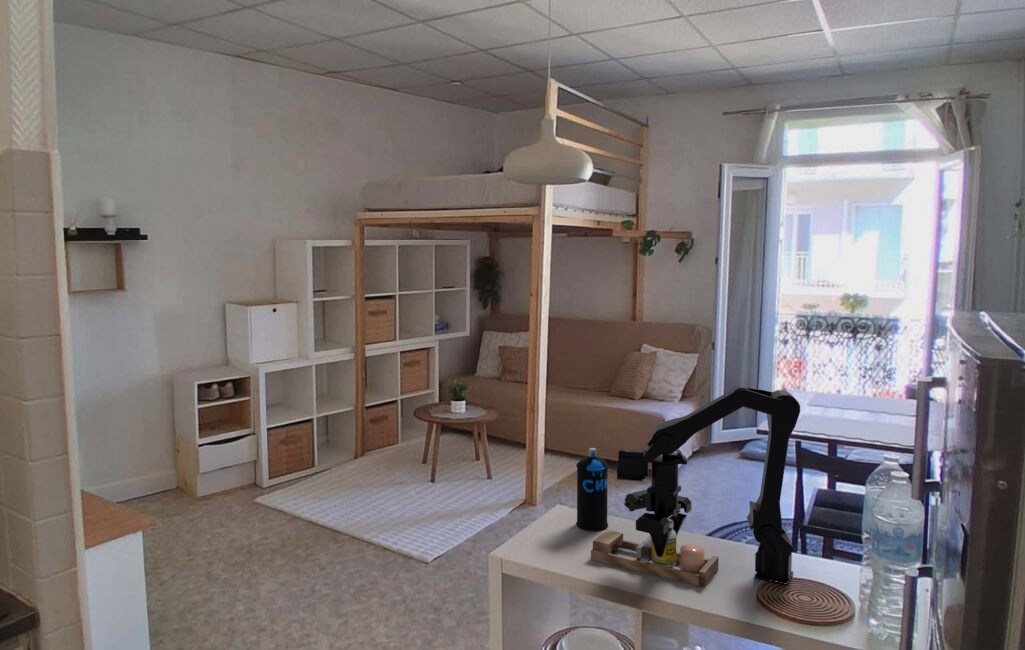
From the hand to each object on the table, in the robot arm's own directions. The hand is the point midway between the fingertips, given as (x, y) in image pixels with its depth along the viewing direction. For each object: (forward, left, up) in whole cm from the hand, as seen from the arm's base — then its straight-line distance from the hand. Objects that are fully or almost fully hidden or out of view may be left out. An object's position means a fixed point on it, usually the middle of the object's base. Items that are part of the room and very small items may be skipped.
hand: (664, 551), depth 152 cm
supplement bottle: (0, 0, -3) cm, 3 cm away
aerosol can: (+25, -14, -4) cm, 28 cm away
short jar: (-6, 0, -4) cm, 7 cm away
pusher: (+8, 0, -3) cm, 8 cm away
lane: (+3, 0, -3) cm, 4 cm away
